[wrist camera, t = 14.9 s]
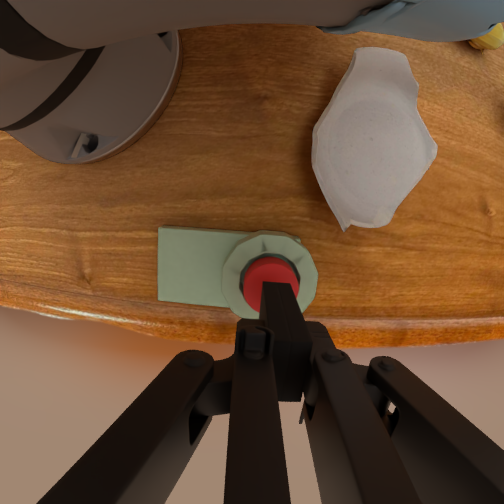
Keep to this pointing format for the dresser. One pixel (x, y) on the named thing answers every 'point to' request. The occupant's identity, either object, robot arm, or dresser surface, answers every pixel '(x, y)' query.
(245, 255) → the control block
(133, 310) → the dresser surface
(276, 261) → the button
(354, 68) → the pottery shard
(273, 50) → the dresser surface
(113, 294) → the dresser surface
